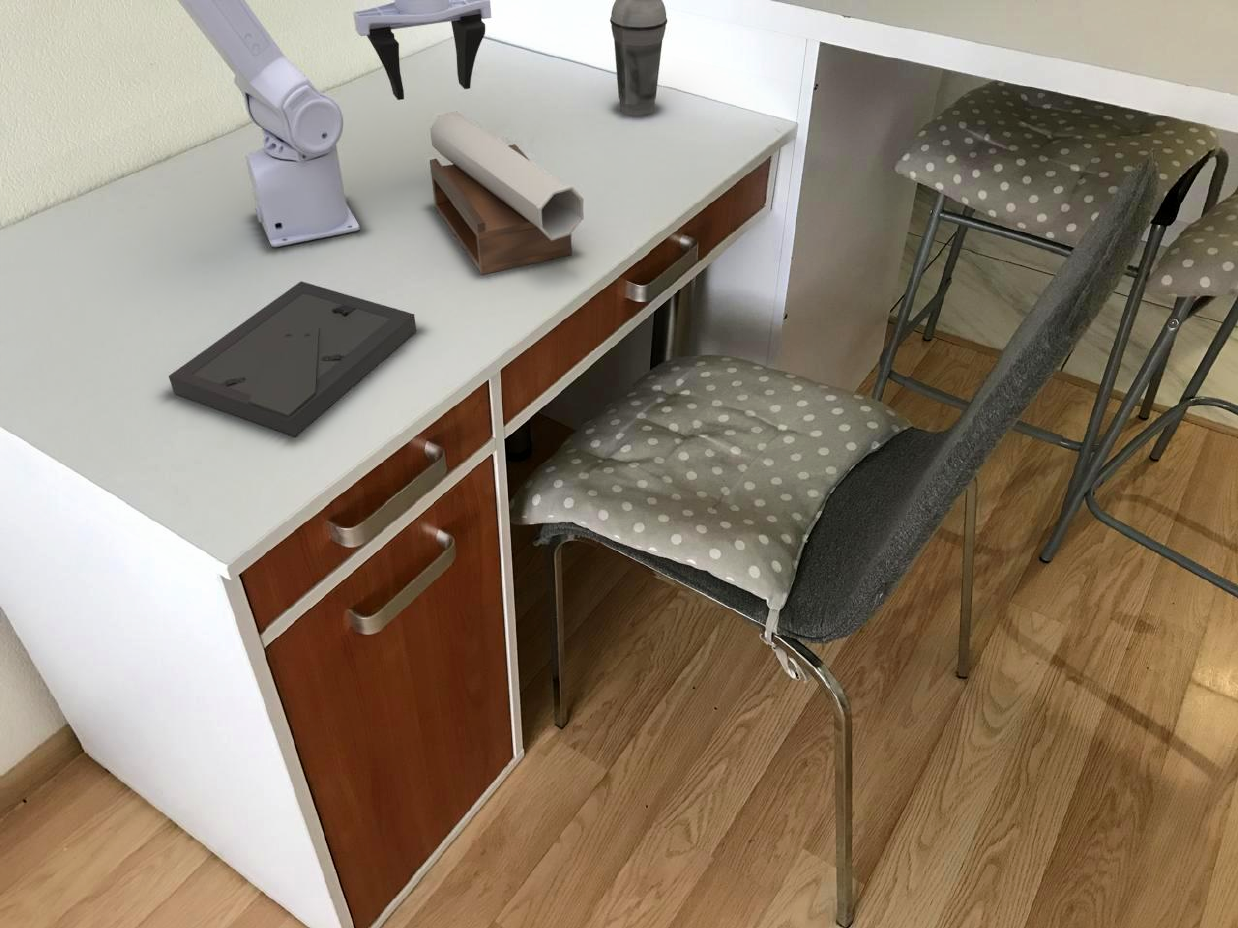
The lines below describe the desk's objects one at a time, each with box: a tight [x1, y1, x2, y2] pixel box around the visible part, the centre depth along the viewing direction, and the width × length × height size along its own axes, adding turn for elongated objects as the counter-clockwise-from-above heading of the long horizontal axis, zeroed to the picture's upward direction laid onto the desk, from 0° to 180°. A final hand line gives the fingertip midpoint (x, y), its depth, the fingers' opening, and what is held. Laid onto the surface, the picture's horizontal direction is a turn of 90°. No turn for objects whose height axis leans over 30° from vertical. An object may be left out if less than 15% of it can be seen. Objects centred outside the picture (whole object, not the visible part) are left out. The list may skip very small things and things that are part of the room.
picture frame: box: [168, 280, 417, 438], centre depth 95 cm, size 13×2×18 cm
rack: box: [429, 143, 573, 275], centre depth 113 cm, size 10×16×6 cm, turn 25°
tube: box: [429, 111, 585, 241], centre depth 110 cm, size 5×5×25 cm
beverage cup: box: [609, 0, 668, 117], centre depth 134 cm, size 7×7×20 cm
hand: (432, 91), depth 118 cm, fingers open, 7 cm apart
